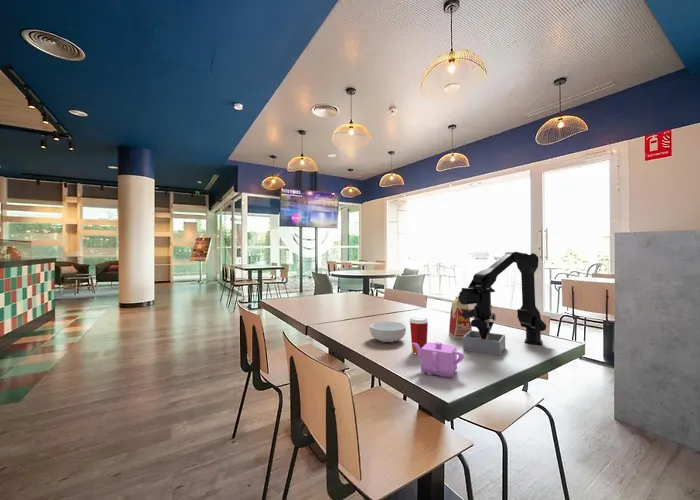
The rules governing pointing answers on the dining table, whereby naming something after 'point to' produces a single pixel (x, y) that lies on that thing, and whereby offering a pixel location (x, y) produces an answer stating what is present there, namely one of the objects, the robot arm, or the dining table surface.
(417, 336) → the paper cup
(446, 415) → the dining table surface
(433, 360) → the teapot
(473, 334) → the box
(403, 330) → the cereal bowl
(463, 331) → the milk carton
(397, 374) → the dining table surface
